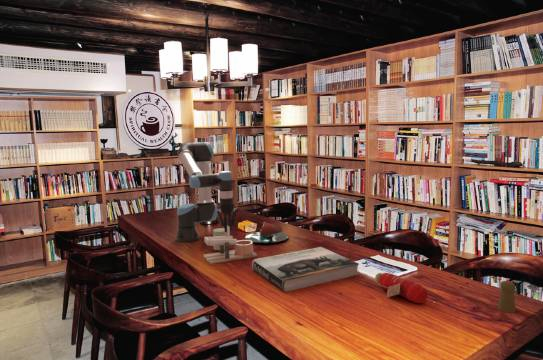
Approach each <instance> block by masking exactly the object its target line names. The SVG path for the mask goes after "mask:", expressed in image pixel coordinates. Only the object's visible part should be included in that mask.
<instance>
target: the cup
mask: <svg viewBox="0 0 543 360" xmlns="http://www.w3.org/2000/svg"><path fill="white" fill-rule="evenodd" d="M233 248H234V249H233V250H234V251H235V254H236V255H250V254H252V253H253V252H254V242H253V241H249V240H247V239H241V240H237V243H236V244H235V245H234V247H233Z"/></svg>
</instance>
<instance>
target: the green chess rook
mask: <svg viewBox="0 0 543 360" xmlns="http://www.w3.org/2000/svg"><path fill="white" fill-rule="evenodd" d="M499 287H500V290H501V291H500V296H499V300H498V304H497V309H498V310H499V311H501V312H504V313H508V312H509V313H508V314H511V313H512V314H513V312H514V313H516V312H515V311H516V310H517V309H516V300H515V292H516V289H517V287H516V285H515V283H514V282H513V281H508V280H503V281H501V282H500V284H499Z"/></svg>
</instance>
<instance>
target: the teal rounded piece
mask: <svg viewBox="0 0 543 360" xmlns="http://www.w3.org/2000/svg"><path fill="white" fill-rule="evenodd" d="M262 224H263V225H262V226H261V227H260V231H258V232H252V233H249V234H247V235H246V236H245V240H249V241H252V242H253V243H261V244H262V243H263V244H269V243H278V242H281V241H285V240H287V239H288V238H289V236H288V234H286V233H283V231H284V229H283V228H282V227H281V225H277V224H272V223H269V222H265V221H263V223H262Z"/></svg>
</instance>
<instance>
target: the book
mask: <svg viewBox="0 0 543 360" xmlns="http://www.w3.org/2000/svg"><path fill="white" fill-rule="evenodd" d="M251 262H252V263H251V266H252V270H253V271H254V272H255V273H257V274H258V275H260V276H261V277H263V278H264V279H265V280H267V281H268V282H269V283H271V284H272V285H273V286H275V287H276V288H278V289H279V290H281V291H282V292H283V293H286V292H290V291H294V290H298V289H299V290H300V289H304V288H308V287H311V286H316V284H317V285H320V284H321V285H322V284H325V283H329V282H333V280H334V281H337V280H341V279H346V278H350V276H351V277H354V275H355V276H358V275H359V272H358V267H359V265H360V263H358V262H356V261H355V260H352V259H350V258H347V257H345V256H342V255H340V254H338V253H336V252H333V251H332V250H329V249H327V248H324V247H322V246H318V247H314V248H308V249H303V250H297V251H291V252H286V253H281V254H277V255H270V256H264V257H260V258H255V259H253V260H252V261H251Z"/></svg>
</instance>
